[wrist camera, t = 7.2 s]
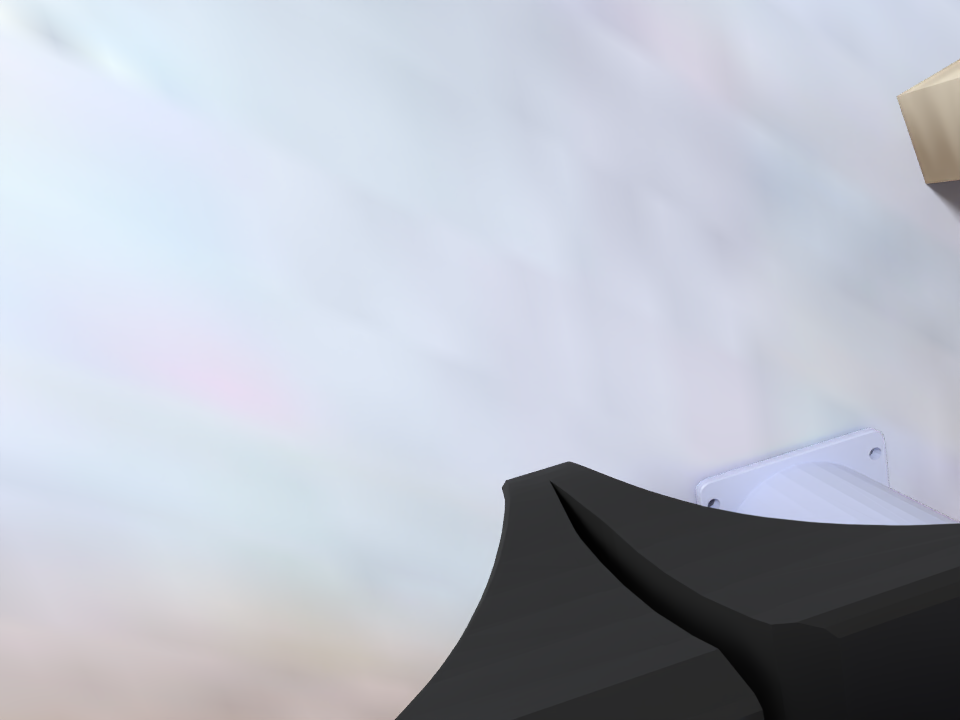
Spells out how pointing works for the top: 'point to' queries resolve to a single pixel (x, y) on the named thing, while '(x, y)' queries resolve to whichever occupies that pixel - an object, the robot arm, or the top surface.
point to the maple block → (935, 123)
